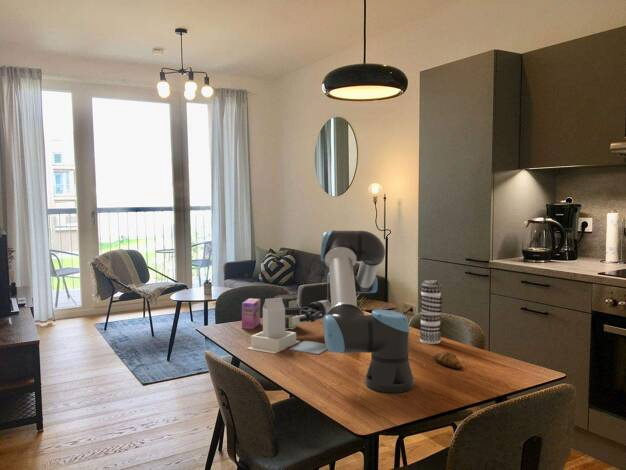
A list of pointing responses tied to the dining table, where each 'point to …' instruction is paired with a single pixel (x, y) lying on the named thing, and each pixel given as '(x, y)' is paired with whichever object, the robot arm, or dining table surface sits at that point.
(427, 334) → the round tower model
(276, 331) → the milk carton
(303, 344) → the mat
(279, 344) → the white tray
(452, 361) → the croissant
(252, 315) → the box
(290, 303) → the coffee can
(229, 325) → the dining table surface
